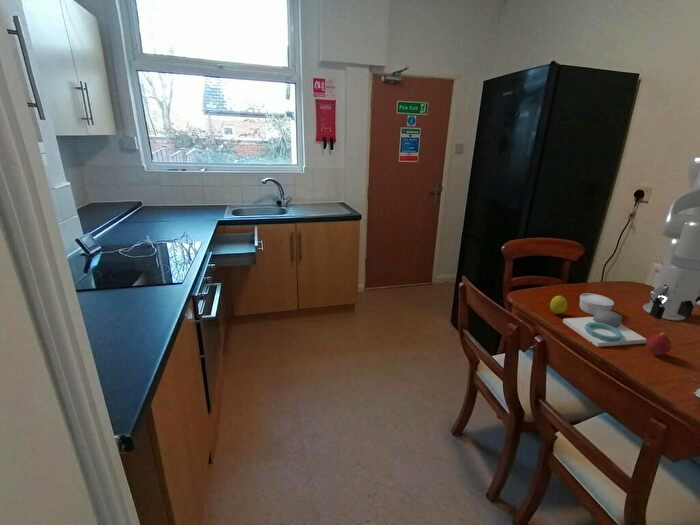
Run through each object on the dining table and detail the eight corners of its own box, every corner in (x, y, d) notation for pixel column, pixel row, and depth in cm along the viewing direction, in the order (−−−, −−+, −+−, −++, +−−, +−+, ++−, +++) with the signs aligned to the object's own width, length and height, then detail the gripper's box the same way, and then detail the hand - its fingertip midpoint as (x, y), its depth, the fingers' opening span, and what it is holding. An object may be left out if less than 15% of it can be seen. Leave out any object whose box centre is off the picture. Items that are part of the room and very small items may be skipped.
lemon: (566, 318, 130) (571, 299, 127) (551, 316, 131) (555, 298, 128) (561, 311, 135) (566, 293, 132) (546, 310, 136) (550, 291, 133)
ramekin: (587, 302, 143) (591, 291, 141) (617, 314, 133) (620, 302, 132) (570, 307, 138) (573, 295, 137) (599, 320, 129) (603, 307, 127)
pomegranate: (638, 349, 111) (645, 328, 108) (654, 348, 111) (662, 327, 109) (654, 360, 105) (663, 338, 103) (672, 359, 106) (680, 337, 103)
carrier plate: (605, 319, 129) (609, 308, 128) (645, 343, 114) (649, 331, 113) (562, 322, 127) (565, 311, 125) (597, 346, 112) (600, 334, 111)
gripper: (700, 258, 102) (680, 309, 108) (650, 259, 100) (632, 311, 106) (729, 267, 95) (707, 321, 101) (676, 268, 93) (656, 323, 99)
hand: (669, 316), depth 103 cm, fingers open, 9 cm apart
